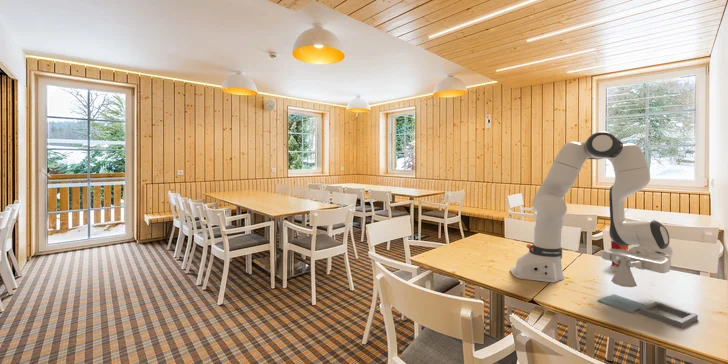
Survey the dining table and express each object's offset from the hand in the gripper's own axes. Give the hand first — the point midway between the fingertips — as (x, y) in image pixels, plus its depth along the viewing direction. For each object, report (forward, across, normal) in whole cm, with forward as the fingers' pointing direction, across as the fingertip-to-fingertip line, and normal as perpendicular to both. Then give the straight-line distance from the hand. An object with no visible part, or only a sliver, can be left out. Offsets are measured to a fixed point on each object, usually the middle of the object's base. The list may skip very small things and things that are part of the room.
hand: (622, 263), depth 121 cm
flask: (-1, 0, +8) cm, 8 cm away
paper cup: (-49, -24, +16) cm, 57 cm away
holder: (-3, +12, +16) cm, 20 cm away
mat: (-1, 0, +16) cm, 16 cm away
